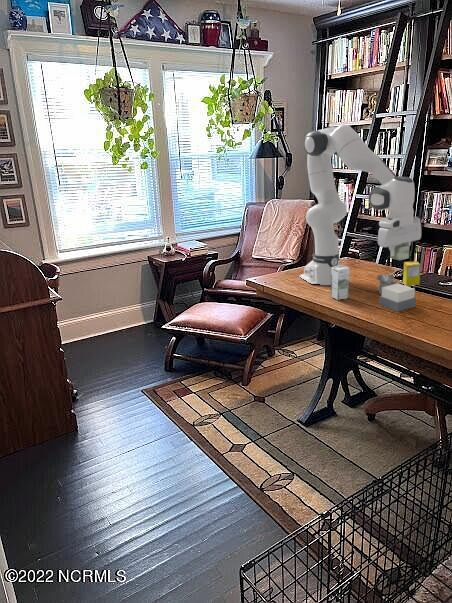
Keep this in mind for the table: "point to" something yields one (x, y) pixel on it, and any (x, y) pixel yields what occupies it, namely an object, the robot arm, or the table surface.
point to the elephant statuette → (385, 281)
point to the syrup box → (340, 282)
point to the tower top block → (398, 292)
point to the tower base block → (397, 304)
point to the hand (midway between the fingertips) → (399, 254)
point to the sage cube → (401, 252)
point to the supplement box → (411, 273)
